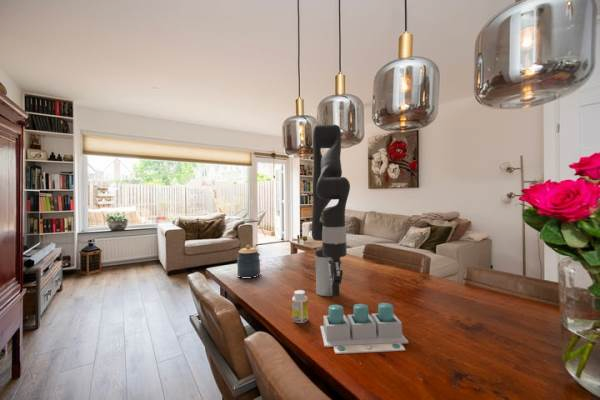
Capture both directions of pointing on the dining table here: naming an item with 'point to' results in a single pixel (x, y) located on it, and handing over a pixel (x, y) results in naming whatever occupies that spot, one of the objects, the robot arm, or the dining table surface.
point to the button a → (335, 314)
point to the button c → (385, 312)
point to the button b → (361, 313)
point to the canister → (248, 262)
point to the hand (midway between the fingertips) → (335, 295)
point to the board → (362, 332)
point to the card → (368, 348)
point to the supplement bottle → (300, 307)
